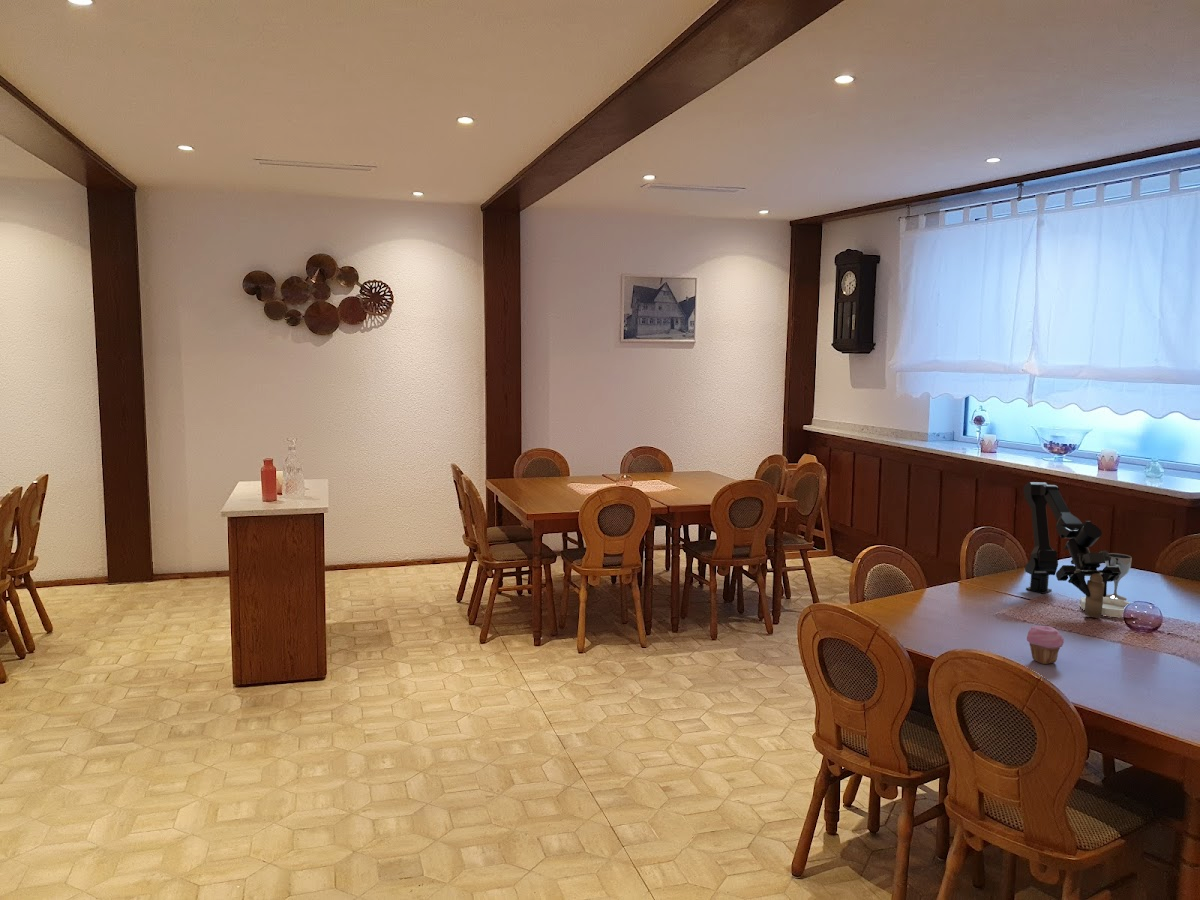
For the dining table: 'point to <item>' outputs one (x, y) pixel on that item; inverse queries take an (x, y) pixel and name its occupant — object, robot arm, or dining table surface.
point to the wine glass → (1124, 565)
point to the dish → (1109, 606)
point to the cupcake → (1044, 643)
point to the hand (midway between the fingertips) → (1097, 596)
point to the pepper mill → (1094, 596)
